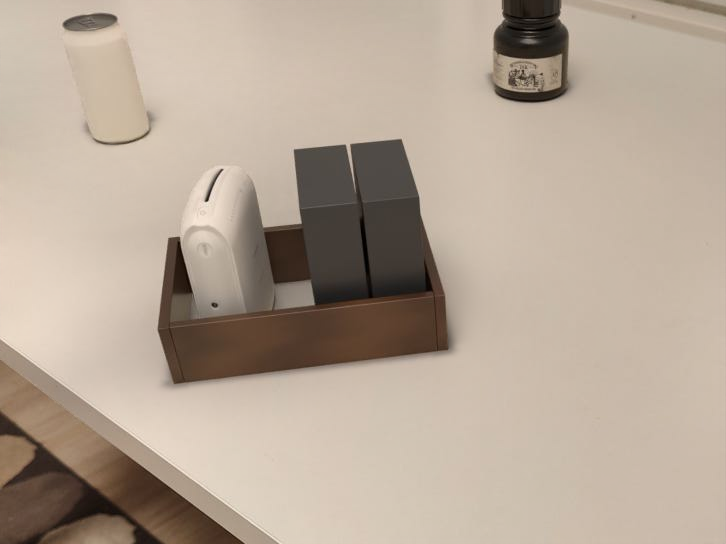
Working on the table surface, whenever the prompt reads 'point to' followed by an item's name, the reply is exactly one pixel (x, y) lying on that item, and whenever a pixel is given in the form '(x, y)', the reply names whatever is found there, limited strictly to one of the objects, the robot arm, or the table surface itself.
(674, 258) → the table surface
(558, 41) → the ink bottle
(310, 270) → the charcoal box
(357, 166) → the charcoal box
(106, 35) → the can
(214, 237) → the photo printer
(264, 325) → the brown wooden tray
